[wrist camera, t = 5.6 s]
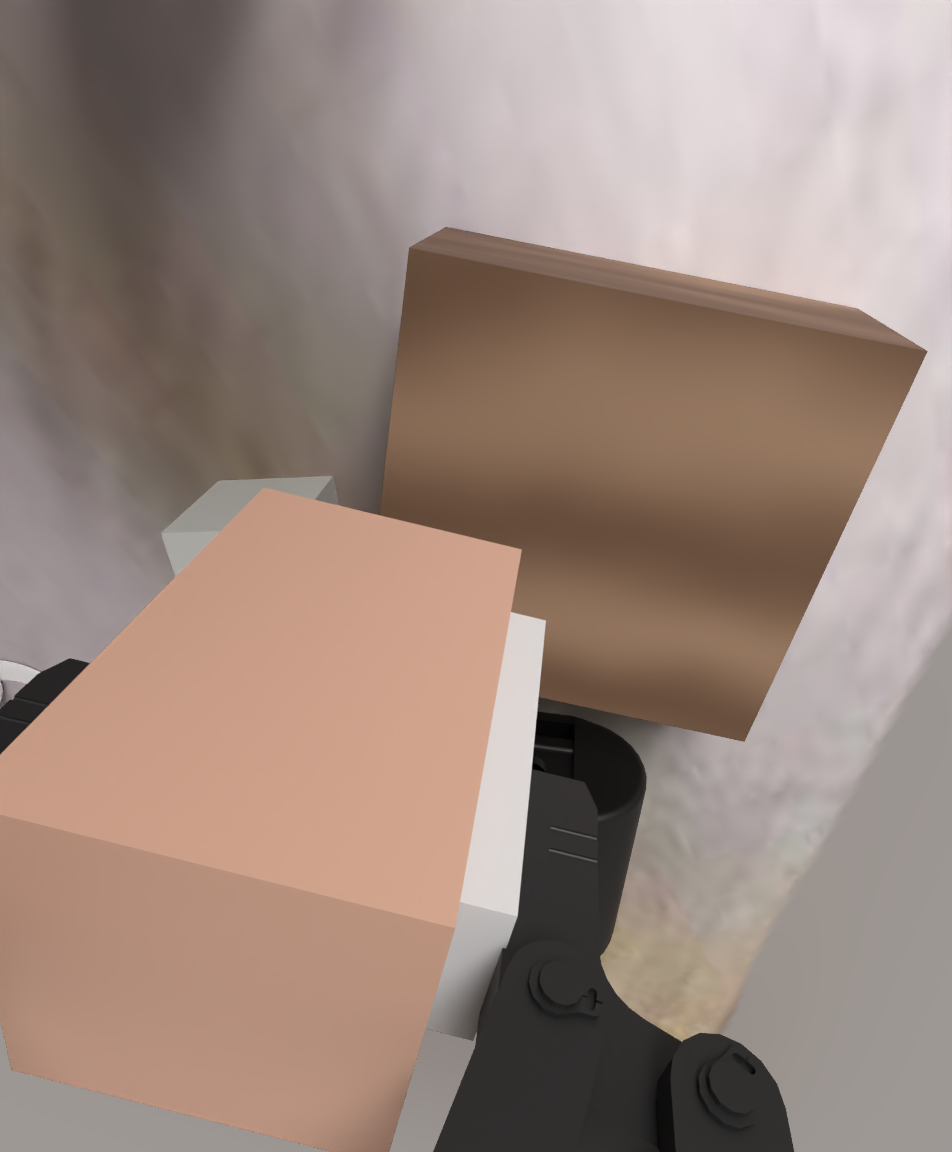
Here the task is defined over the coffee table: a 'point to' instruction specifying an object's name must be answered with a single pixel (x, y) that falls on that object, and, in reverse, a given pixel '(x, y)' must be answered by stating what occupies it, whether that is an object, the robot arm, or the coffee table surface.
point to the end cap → (598, 795)
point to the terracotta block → (257, 826)
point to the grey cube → (231, 511)
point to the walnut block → (638, 459)
